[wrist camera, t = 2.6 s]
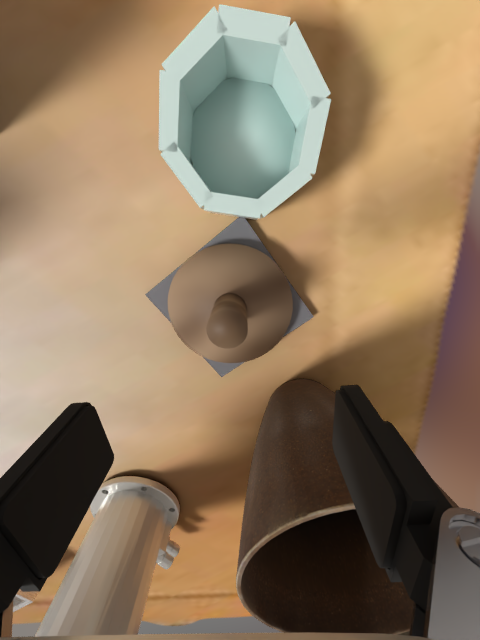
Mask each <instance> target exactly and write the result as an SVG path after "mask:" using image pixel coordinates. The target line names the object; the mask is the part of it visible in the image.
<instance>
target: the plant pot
mask: <svg viewBox="0 0 480 640" xmlns="http://www.w3.org/2000/svg"><path fill="white" fill-rule="evenodd" d="M334 408H335V393H334V392H333V391H331V390H329V389H328V388H326V387H325V386H323V385H321V384H320V383H318V382H316V381H313V380H309V379H296V380H292V381H289V382H286V383H284V384H283V385H281V386H280V387H279V388H277V389H276V390H275V392H274V393H273V394H272V396H271V398H270V401H269V403H268V406H267V408H266V411H265V414H264V417H263V420H262V423H261V426H260V430H259V433H258V437H257V441H256V445H255V449H254V454H253V459H252V464H251V469H250V474H249V480H248V487H247V493H246V499H245V506H244V514H243V522H242V531H241V540H240V549H239V558H238V568H237V577H236V588H237V593H238V596H239V598H240V600H241V602H242V604H243V606H244V607H245V608H246V609H247V610H248V611H249V613H250V614H251V615H253V616H254V617H255V618H256V619H258V620H259V621H261V622H262V623H264V624H266V625H267V626H269V627H272V628H274V629H277V630H279V631H281V632H284V633H378V634H393V635H397V634H401V633H404V632H408V631H410V624H411V618H412V611H413V605H414V601H413V600H411V599H410V598H409V595H408V593H407V591H406V588H405V586H404V584H403V582H390V580H389V577H388V575H387V572H386V570H385V568H380V567H379V566H378V564H377V562H376V560H375V558H374V555H373V552H372V550H371V547H370V545H369V542H368V539H367V537H366V534H365V532H364V529H363V527H362V524H361V521H360V519H359V516H358V514H357V511H356V508H355V506H354V503H353V501H352V498H351V495H350V493H349V490H348V488H347V485H346V483H345V480H344V477H343V475H342V472H341V470H340V467H339V464H338V462H337V459H336V457H335V454H334V451H333V446H332V437H333V422H334ZM436 485H437V484H436ZM437 486H438V485H437ZM438 488H439V489H440V490H441V492H442V493H443V494H444V496H445V497H446V499H447V500H448V501H449V503H450V504H451V505H452V507H453V508H456V507H458V506H457V504H456V503H455V502H454V501H452V499H451V498H450V497H449V496H448V495H447V494H446V493H445V492H444V491H443V490H442V489H441V488H440V487H439V486H438Z"/></svg>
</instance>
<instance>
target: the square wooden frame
mask: <svg viewBox="0 0 480 640" xmlns="http://www.w3.org/2000/svg"><path fill="white" fill-rule="evenodd" d="M38 592H39V591H32V592H22V591H21V589H19V591H18V592H17V594H16V596H15V597H14V599H13V612H14V611H16V610H18V609H20V608H22V607H24V606H26V605H28V604H30V603H32V602H33V601H34V599H35V598H36V596H37V594H38Z"/></svg>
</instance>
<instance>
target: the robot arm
mask: <svg viewBox="0 0 480 640" xmlns="http://www.w3.org/2000/svg"><path fill="white" fill-rule="evenodd" d="M332 446H333V451H334V454H335V457H336V459H337V462H338V464H339V467H340V470H341V472H342V475H343V477H344V480H345V483H346V485H347V488H348V490H349V493H350V495H351V498H352V501H353V503H354V506H355V508H356V511H357V514H358V516H359V519H360V521H361V524H362V527H363V529H364V532H365V534H366V537H367V539H368V542H369V545H370V547H371V550H372V552H373V555H374V558H375V560H376V562H377V564H378V566H379V567H380V568H385V570H386V572H387V575H388V577H389V580H390V582H403V584H404V586H405V588H406V591H407V593H408V595H409V598H410V599H411V600H413V601H414V605H413V611H412V618H411V624H410V631H409V636H405V635H393V634H378V633H221V634H220V633H211V634H145V635H138V631H139V627H140V624H141V620H142V616H143V612H144V608H145V604H146V600H147V596H148V593H149V589H150V585H151V581H152V577H153V573H154V569H155V565H156V563H157V564H158V565H160V566H161V567H163V568H164V569H168V568H169V567H170V566H171V564H172V563H173V560H174V557H176V556H177V554H178V553H179V550H180V546H179V545H178V544H176V543H175V542H174V541H171V540H170V537H169V535H170V531H171V529H172V528H173V527H174V526H175V525H176V523H177V521H178V517H179V513H180V505H179V502H178V500H177V498H176V496H175V495H174V494H173V493H172V492H171V491H170V490H169V489H168V488H167V487H165V486H164V485H162V484H160V483H159V482H156V481H154V480H151V479H148V478H144V477H137V476H123V477H117V478H113V479H110V480H108V481H106V482H104V483H103V481H104V479H105V477H106V475H107V473H108V471H109V470H110V468H111V466H112V464H113V461H114V454H113V451H112V449H111V446H110V444H109V441H108V439H107V436H106V434H105V431H104V429H103V426H102V424H101V421H100V419H99V416H98V414H97V411H96V409H95V407H94V406H92V405H91V404H90V403H88V402H84V403H73V404H71V405H69V406H68V407H67V408H66V409H65V410H64V411H63V412H62V414H61V415H60V416H59V417H58V418H57V419H56V420H55V421H54V422H53V423H52V424H51V425H50V426H49V427H48V428H47V429H46V430H45V432H44V433H43V434H42V435H41V436H40V437H39V438H38V439H37V440H36V441H35V442H34V443H33V444H32V445H31V446H30V447H29V448H28V450H27V451H26V452H25V453H24V454H23V455H22V456H21V457H20V458H19V459H18V460H17V461H16V462H15V463H14V464H13V465H12V466H11V468H10V469H9V470H8V471H7V472H6V473H5V474H4V475H3V476H2V477H1V478H0V640H480V513H477V512H475V511H472V510H470V509H465V508H459V507H456V508H453V507H452V505H451V504H450V503H449V501H448V500H447V499H446V497H445V496H444V494H443V493H442V492H441V490H440V489H439V488H438V486H437V485H436V483H435V482H434V481H433V479H432V478H431V477H430V475H429V474H428V472H427V471H426V470H425V468H424V467H423V466H422V464H421V463H420V461H419V460H418V459H417V457H416V456H415V455H414V453H413V452H412V450H411V449H410V448H409V446H408V445H407V444H406V442H405V441H404V439H403V438H402V437H401V435H400V434H399V433H398V431H397V430H396V428H395V427H394V426H393V425H392V424H391V423H390V422H388V421H383V420H382V418H381V417H380V415H379V414H378V413H377V411H376V410H375V408H374V407H373V405H372V404H371V403H370V401H369V400H368V398H367V397H366V395H365V394H364V392H363V391H362V390H361V388H360V387H359V386H358V385H346V386H341V388H340V390H336V393H335V408H334V422H333V437H332ZM102 483H103V484H102ZM89 507H90V508H91V512H92V515H93V517H94V520H93V521H92V523H91V525H90V527H89V529H88V531H87V533H86V535H85V537H84V539H83V541H82V543H81V545H80V547H79V549H78V551H77V553H76V555H75V557H74V559H73V561H72V563H71V565H70V567H69V569H68V571H67V573H66V575H65V577H64V579H63V581H62V583H61V585H60V587H59V589H58V591H57V593H56V595H55V597H54V599H53V601H52V603H51V605H50V607H49V609H48V611H47V613H46V615H45V617H44V619H43V621H42V623H41V625H40V627H39V629H38V631H37V633H36V635H35V637H12V618H13V599H14V597H15V596H16V594H17V592H18V591H19V589H21V591H22V592H32V591H40V590H41V588H42V587H43V585H44V583H45V581H46V579H47V578H48V577H49V576H51V575H52V574H53V572H54V571H55V569H56V568H57V566H58V564H59V562H60V560H61V559H62V557H63V555H64V553H65V551H66V549H67V547H68V546H69V544H70V542H71V540H72V538H73V536H74V534H75V533H76V531H77V529H78V527H79V525H80V523H81V521H82V520H83V518H84V516H85V514H86V512H87V510H88V508H89Z"/></svg>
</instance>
